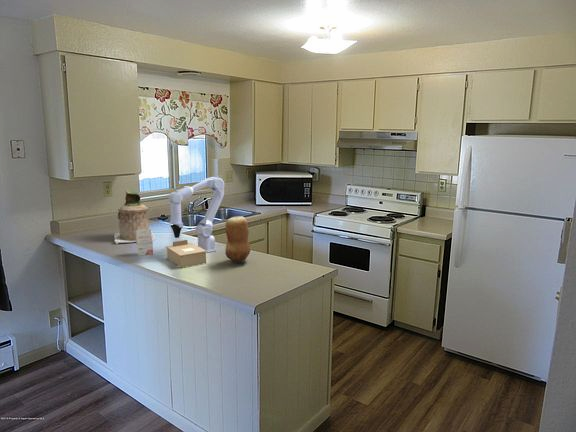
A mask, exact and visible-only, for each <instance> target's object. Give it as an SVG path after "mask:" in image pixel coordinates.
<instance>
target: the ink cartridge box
mask: <svg viewBox="0 0 576 432" xmlns="http://www.w3.org/2000/svg"><path fill="white" fill-rule="evenodd" d="M143 231H145V232H146V233H141V232H143ZM151 231H152V229H151V228H149V229H148V230H136V234H137V235H136V239H137V242H136V249H137V256H147V255H146V254H150V255H154V243H153V242H154V241H153V239H152V233H153V232H152V233H151Z"/></svg>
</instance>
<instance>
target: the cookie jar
mask: <svg viewBox="0 0 576 432" xmlns="http://www.w3.org/2000/svg"><path fill="white" fill-rule="evenodd" d="M124 200H125V203H124V204H123V205H122V206H120V207H118V213H117V219H118V220H119V221H118V224H119V226H118V229H119V232H115V233H114V242H115V244H116V245H118V244H125V243H137V239H136V235H137V234H136V230H148V229H150V224H149V218H148V210H149V207H148V206H146V205H144V204H142V203H140V202H141V196H140V194H138V192H137V191H135V190H125V198H124ZM141 233H146V232H145V231H143V232H141ZM151 233H152V239H153V242H154V241H155V239H156V237H155V235H154V233H153V231H152V230H151Z"/></svg>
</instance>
